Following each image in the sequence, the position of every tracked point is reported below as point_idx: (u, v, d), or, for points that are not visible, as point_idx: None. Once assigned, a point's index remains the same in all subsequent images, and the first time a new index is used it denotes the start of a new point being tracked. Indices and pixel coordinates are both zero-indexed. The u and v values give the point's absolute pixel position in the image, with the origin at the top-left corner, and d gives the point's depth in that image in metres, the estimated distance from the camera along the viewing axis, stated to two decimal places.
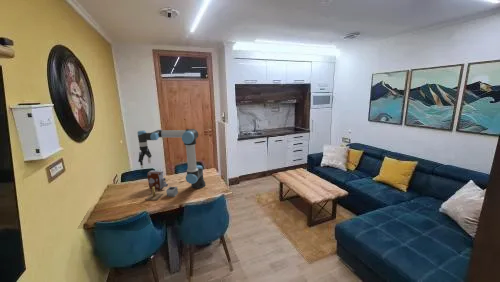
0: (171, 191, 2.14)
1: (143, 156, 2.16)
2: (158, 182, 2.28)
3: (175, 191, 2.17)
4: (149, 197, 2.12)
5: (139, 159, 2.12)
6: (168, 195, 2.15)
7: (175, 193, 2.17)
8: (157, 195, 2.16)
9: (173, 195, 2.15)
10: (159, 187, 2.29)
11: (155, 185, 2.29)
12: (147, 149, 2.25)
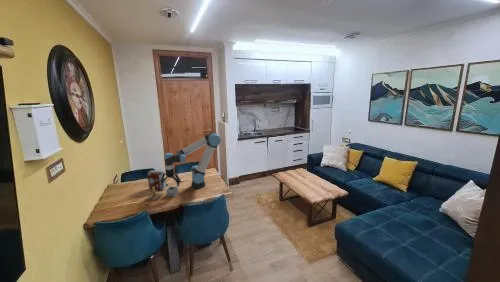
0: (171, 191, 2.14)
1: (165, 178, 2.14)
2: (158, 182, 2.27)
3: (175, 191, 2.17)
4: (149, 197, 2.12)
5: None
6: (168, 195, 2.15)
7: (175, 193, 2.17)
8: (157, 195, 2.16)
9: (173, 195, 2.15)
10: (159, 187, 2.29)
11: (155, 185, 2.29)
12: (175, 174, 2.13)
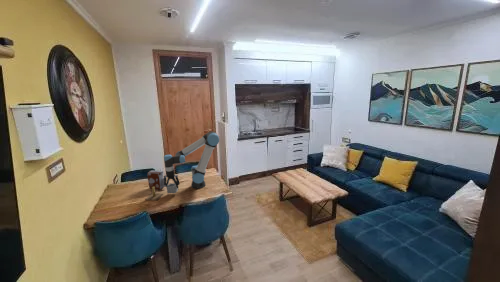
0: (171, 188, 2.13)
1: (167, 180, 2.15)
2: (158, 182, 2.28)
3: (175, 188, 2.16)
4: (149, 197, 2.12)
5: None
6: (168, 191, 2.14)
7: (175, 190, 2.16)
8: (157, 195, 2.16)
9: (173, 192, 2.14)
10: (159, 187, 2.29)
11: (155, 185, 2.29)
12: (175, 175, 2.13)
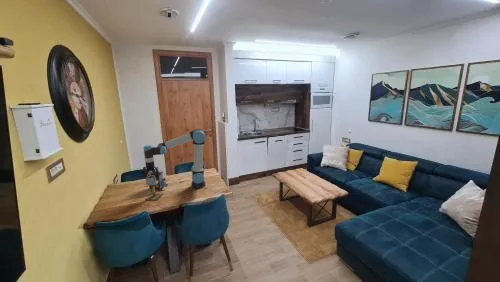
0: (150, 179, 2.06)
1: (147, 172, 2.07)
2: (158, 182, 2.28)
3: None
4: (149, 197, 2.12)
5: None
6: (147, 183, 2.07)
7: (155, 182, 2.09)
8: (157, 195, 2.16)
9: (153, 184, 2.07)
10: (159, 187, 2.29)
11: (155, 185, 2.29)
12: (155, 167, 2.06)
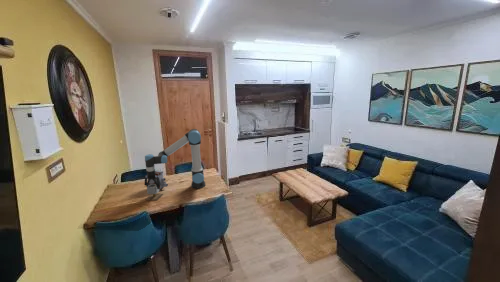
0: (152, 188, 2.08)
1: (148, 181, 2.10)
2: None
3: None
4: (149, 197, 2.12)
5: (145, 182, 2.12)
6: (148, 192, 2.09)
7: (156, 190, 2.11)
8: (157, 195, 2.16)
9: (154, 192, 2.09)
10: (159, 187, 2.29)
11: None
12: (156, 176, 2.08)
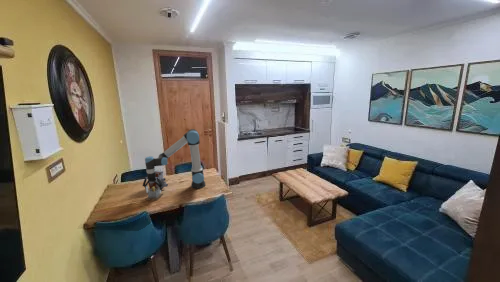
0: (152, 193, 2.09)
1: (147, 182, 2.10)
2: None
3: (157, 193, 2.12)
4: None
5: None
6: (149, 196, 2.10)
7: (157, 195, 2.12)
8: None
9: (155, 197, 2.10)
10: None
11: (155, 185, 2.29)
12: (156, 177, 2.09)
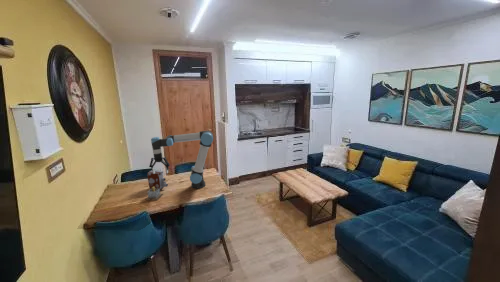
0: (152, 193, 2.09)
1: (154, 163, 2.12)
2: (158, 182, 2.28)
3: (157, 193, 2.12)
4: None
5: None
6: (149, 196, 2.10)
7: (157, 195, 2.12)
8: None
9: (155, 197, 2.10)
10: (159, 187, 2.29)
11: (155, 185, 2.29)
12: (163, 158, 2.11)
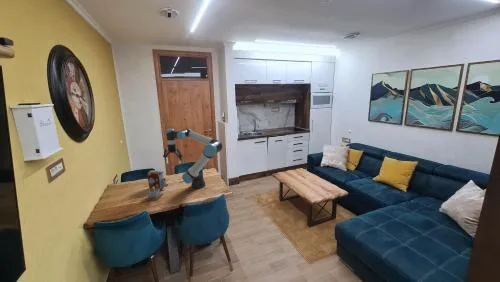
0: (152, 193, 2.09)
1: (167, 153, 2.23)
2: (158, 182, 2.27)
3: (157, 193, 2.12)
4: None
5: (164, 154, 2.25)
6: (149, 196, 2.10)
7: (157, 195, 2.12)
8: None
9: (155, 197, 2.10)
10: (159, 187, 2.29)
11: (155, 185, 2.29)
12: None
